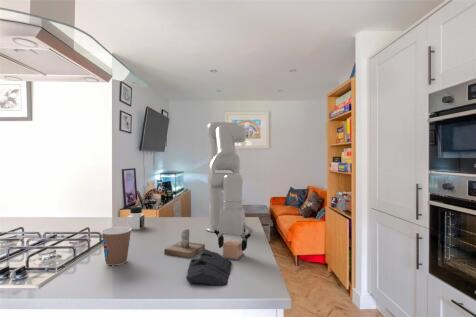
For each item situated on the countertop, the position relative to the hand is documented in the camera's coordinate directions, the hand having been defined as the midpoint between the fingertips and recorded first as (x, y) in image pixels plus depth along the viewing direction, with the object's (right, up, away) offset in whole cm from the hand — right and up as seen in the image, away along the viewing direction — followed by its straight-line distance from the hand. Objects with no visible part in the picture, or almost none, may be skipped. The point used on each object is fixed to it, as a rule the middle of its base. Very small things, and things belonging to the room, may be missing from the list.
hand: (232, 248), depth 107 cm
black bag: (-8, -4, -15) cm, 17 cm away
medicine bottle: (-55, -4, +44) cm, 71 cm away
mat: (0, -3, 0) cm, 3 cm away
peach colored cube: (0, -3, 0) cm, 3 cm away
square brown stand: (-20, -3, +5) cm, 21 cm away
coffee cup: (-43, -3, -7) cm, 44 cm away
